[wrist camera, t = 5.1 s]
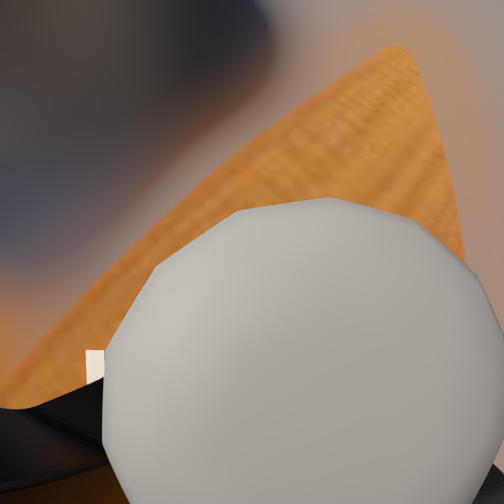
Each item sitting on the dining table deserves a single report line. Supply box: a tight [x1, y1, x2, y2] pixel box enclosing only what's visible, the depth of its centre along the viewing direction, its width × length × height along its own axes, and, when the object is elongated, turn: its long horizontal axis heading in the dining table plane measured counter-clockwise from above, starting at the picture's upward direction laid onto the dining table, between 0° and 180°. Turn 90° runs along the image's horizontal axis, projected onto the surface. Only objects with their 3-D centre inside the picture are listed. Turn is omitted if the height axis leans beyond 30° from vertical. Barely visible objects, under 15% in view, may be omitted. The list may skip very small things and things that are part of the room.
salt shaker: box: [102, 197, 504, 504], centre depth 8 cm, size 6×6×13 cm
